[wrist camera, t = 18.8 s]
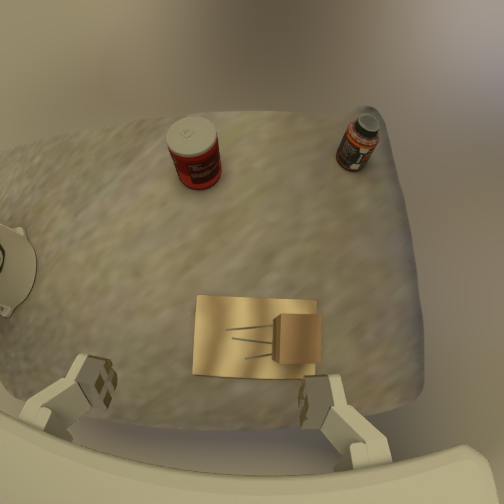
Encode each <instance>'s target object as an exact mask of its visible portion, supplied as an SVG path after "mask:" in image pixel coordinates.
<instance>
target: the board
mask: <svg viewBox="0 0 504 504" xmlns="http://www.w3.org/2000/svg"><path fill="white" fill-rule="evenodd" d="M316 307H317V300H295V299H265V298H242V297H222V296H205V295H197V305H196V319H195V335H194V353H193V374H197V375H208V376H221V377H238V378H263V379H302V377H303V376H304V375H315V364H279V363H277V362H275V361H274V360H272V337H273V319H274V318H276V317H277V316H278V315H280V314H281V313H287V314H316Z"/></svg>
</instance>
